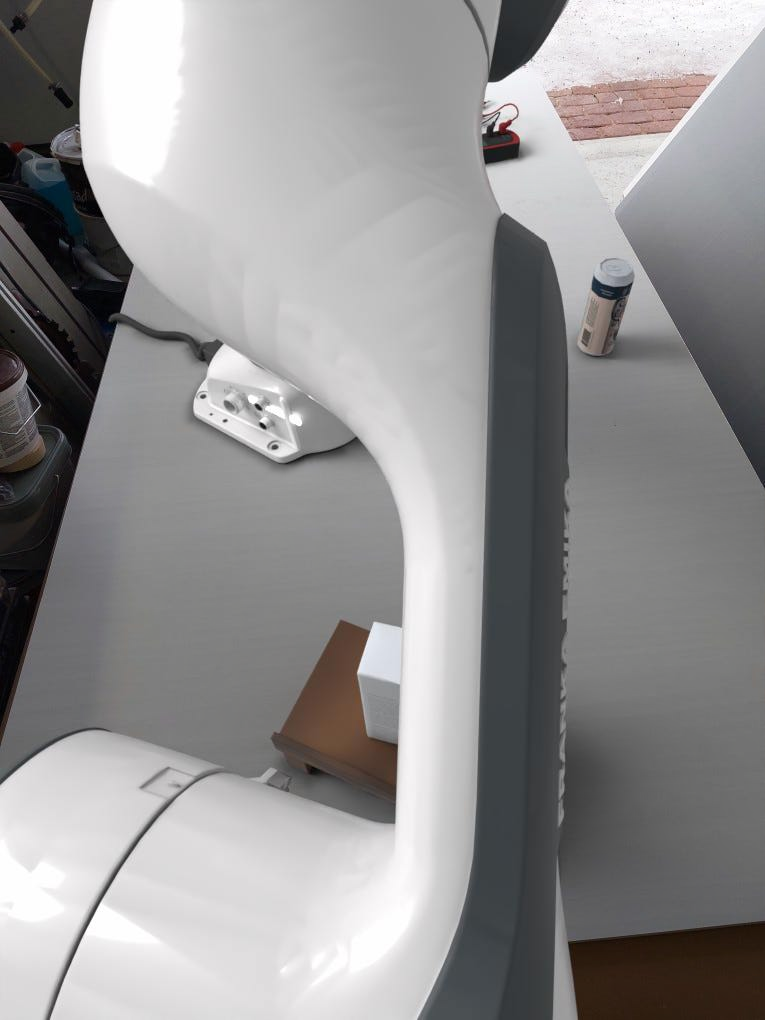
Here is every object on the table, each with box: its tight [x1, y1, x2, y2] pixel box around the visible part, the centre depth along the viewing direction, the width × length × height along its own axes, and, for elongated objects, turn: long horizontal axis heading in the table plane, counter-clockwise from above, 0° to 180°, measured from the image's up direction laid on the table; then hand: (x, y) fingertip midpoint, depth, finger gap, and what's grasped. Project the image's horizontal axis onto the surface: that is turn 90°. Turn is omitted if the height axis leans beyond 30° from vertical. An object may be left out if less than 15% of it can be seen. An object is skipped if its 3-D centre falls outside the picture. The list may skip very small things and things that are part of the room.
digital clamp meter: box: [482, 100, 521, 165], centre depth 126 cm, size 23×4×25 cm
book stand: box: [270, 619, 398, 806], centre depth 57 cm, size 18×12×8 cm, turn 66°
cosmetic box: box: [357, 621, 402, 744], centre depth 50 cm, size 6×4×12 cm
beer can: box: [576, 257, 636, 357], centre depth 87 cm, size 5×5×12 cm
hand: (347, 813), depth 42 cm, fingers open, 8 cm apart
